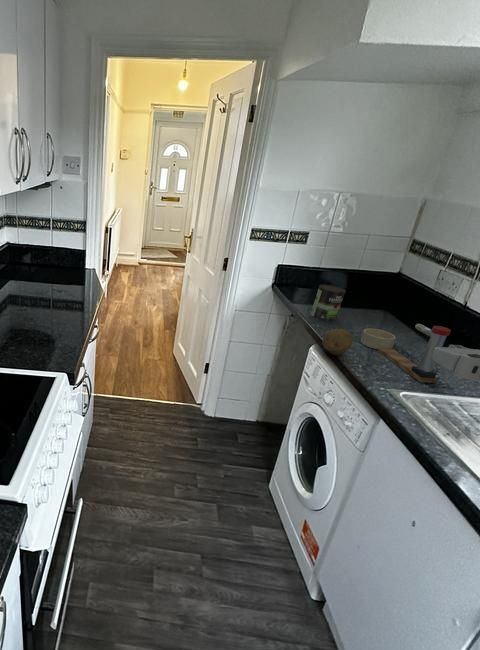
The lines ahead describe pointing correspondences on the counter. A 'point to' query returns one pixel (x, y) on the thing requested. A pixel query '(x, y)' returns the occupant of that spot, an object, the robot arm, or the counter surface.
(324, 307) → the coffee can
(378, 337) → the basin
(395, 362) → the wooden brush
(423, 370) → the tap
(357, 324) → the counter surface
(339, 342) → the natural sponge
